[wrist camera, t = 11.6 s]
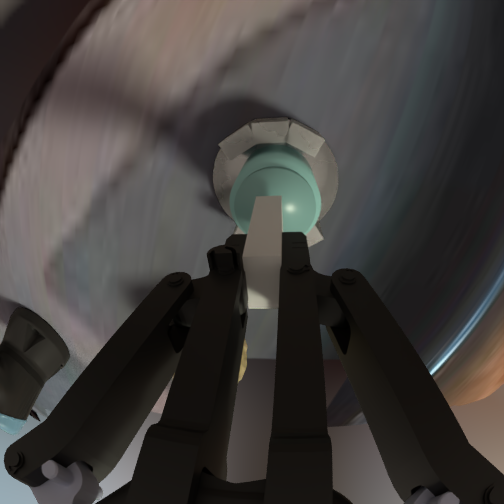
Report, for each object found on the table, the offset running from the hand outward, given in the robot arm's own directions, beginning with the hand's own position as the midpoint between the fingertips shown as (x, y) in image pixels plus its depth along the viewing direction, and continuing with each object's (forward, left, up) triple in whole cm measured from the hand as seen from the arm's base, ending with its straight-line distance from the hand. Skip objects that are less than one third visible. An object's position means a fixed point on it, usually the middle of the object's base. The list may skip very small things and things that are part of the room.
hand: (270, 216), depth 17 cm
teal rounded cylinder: (0, 0, -7) cm, 7 cm away
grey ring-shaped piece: (0, 0, -8) cm, 8 cm away
